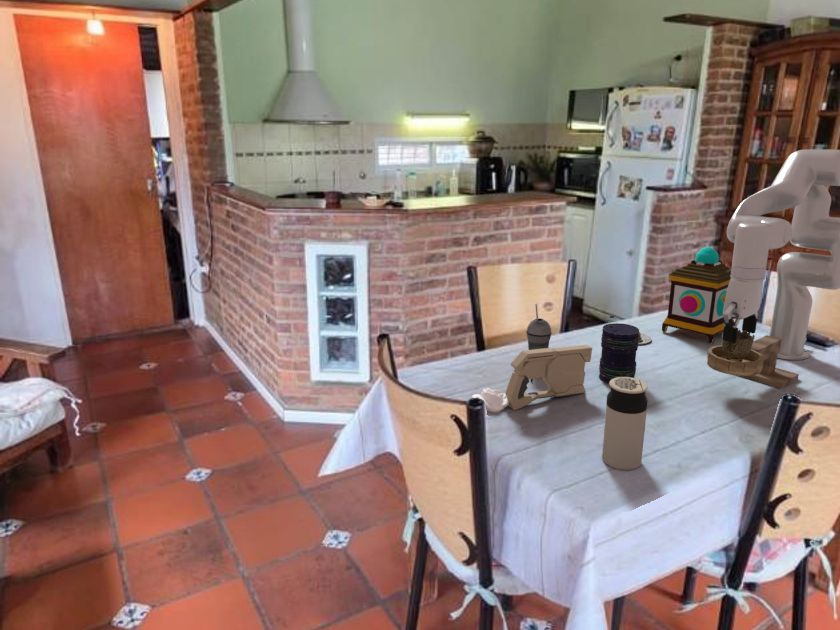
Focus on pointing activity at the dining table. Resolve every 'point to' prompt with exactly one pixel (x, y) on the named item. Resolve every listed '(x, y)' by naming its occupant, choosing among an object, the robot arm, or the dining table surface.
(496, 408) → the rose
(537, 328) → the beverage cup
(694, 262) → the decorative lantern
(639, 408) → the travel mug
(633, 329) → the storage jar
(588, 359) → the gun
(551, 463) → the dining table surface
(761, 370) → the rail cup bracket
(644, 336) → the beige low round piece
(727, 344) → the cup
